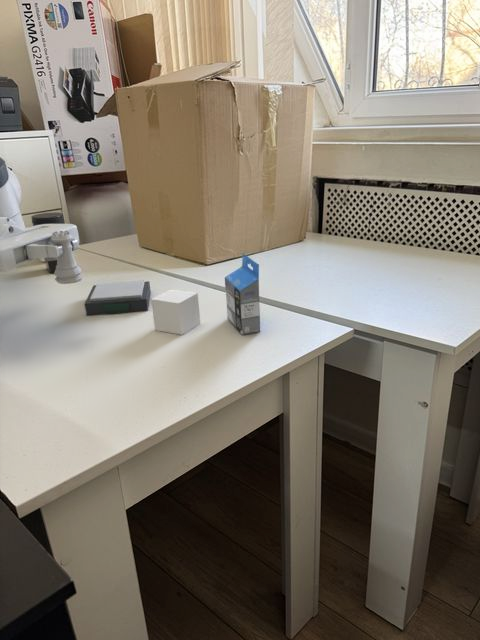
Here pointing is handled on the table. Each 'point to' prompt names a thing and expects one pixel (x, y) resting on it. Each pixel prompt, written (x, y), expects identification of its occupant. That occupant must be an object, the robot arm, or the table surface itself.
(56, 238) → the rook chess piece
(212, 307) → the table surface
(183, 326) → the white cube
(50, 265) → the wireless earbuds
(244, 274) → the ink cartridge box
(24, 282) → the table surface
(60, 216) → the jar
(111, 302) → the scale
